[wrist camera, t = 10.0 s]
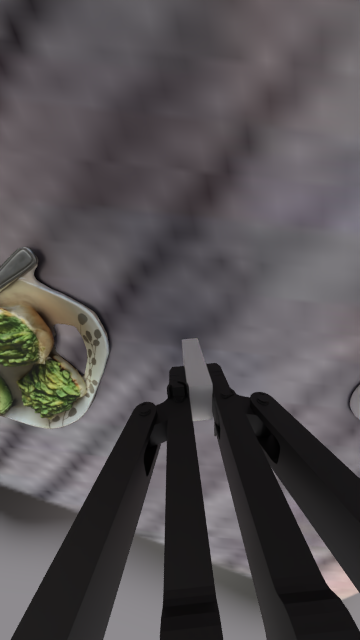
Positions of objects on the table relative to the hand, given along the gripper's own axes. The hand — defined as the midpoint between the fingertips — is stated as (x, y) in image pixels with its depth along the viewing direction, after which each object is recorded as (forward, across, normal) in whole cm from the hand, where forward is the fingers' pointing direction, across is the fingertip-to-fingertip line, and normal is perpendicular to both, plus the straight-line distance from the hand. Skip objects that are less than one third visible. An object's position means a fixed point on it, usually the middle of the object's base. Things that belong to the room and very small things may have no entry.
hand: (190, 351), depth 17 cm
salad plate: (+3, -18, 0) cm, 18 cm away
